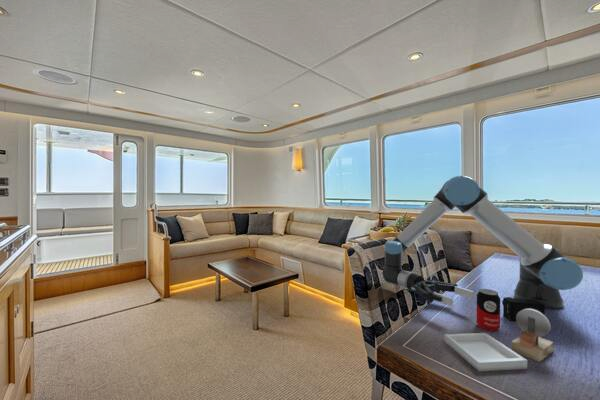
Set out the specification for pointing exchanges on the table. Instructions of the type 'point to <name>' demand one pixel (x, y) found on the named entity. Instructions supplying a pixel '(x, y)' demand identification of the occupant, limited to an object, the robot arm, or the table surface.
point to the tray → (485, 352)
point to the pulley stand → (532, 335)
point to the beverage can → (488, 309)
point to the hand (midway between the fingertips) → (463, 298)
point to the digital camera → (519, 307)
